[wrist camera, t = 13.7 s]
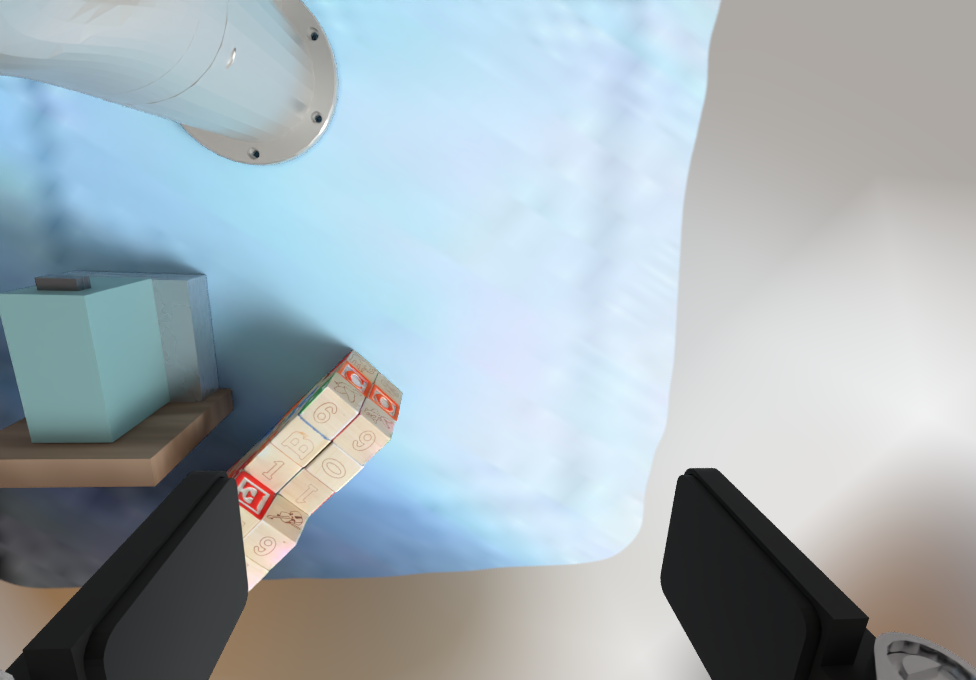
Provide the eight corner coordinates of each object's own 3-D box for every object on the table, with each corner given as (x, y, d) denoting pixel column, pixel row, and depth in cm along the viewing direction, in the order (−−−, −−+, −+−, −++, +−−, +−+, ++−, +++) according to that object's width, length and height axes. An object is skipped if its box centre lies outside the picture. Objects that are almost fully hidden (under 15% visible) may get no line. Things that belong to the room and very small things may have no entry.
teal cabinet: (78, 265, 35) (-9, 280, 29) (149, 267, 36) (81, 282, 29) (104, 400, 38) (32, 442, 32) (170, 400, 39) (112, 442, 32)
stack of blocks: (352, 346, 42) (316, 402, 30) (404, 392, 44) (389, 462, 32) (196, 499, 45) (108, 606, 33) (250, 537, 46) (185, 652, 35)
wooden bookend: (61, 270, 38) (-105, 299, 27) (218, 275, 39) (124, 305, 28) (89, 408, 41) (-49, 488, 30) (233, 409, 42) (155, 486, 31)
